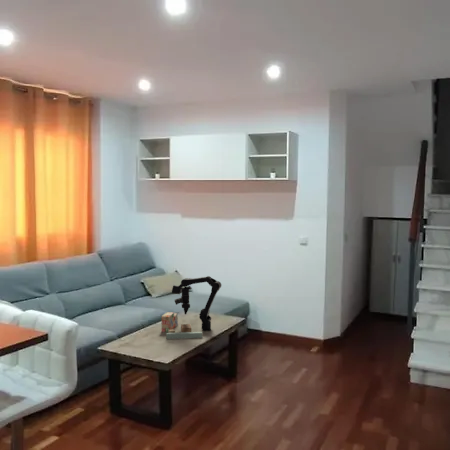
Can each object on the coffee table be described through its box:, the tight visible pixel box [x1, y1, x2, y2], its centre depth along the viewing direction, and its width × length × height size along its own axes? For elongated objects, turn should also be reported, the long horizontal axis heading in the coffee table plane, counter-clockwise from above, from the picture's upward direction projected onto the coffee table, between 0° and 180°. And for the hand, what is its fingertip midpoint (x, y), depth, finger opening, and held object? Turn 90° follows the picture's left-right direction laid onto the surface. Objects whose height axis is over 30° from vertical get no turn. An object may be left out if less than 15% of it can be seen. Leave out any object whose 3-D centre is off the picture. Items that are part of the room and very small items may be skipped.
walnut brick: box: [180, 323, 192, 332], centre depth 372 cm, size 7×10×5 cm
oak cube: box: [167, 328, 176, 333], centre depth 363 cm, size 4×4×4 cm
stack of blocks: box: [161, 311, 179, 333], centre depth 382 cm, size 21×6×12 cm, turn 168°
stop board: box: [165, 331, 203, 340], centre depth 358 cm, size 26×3×4 cm, turn 97°
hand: (185, 314), depth 382 cm, fingers closed
